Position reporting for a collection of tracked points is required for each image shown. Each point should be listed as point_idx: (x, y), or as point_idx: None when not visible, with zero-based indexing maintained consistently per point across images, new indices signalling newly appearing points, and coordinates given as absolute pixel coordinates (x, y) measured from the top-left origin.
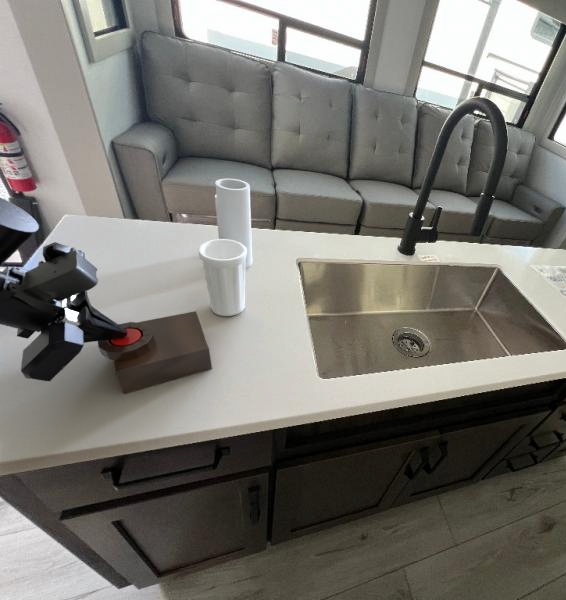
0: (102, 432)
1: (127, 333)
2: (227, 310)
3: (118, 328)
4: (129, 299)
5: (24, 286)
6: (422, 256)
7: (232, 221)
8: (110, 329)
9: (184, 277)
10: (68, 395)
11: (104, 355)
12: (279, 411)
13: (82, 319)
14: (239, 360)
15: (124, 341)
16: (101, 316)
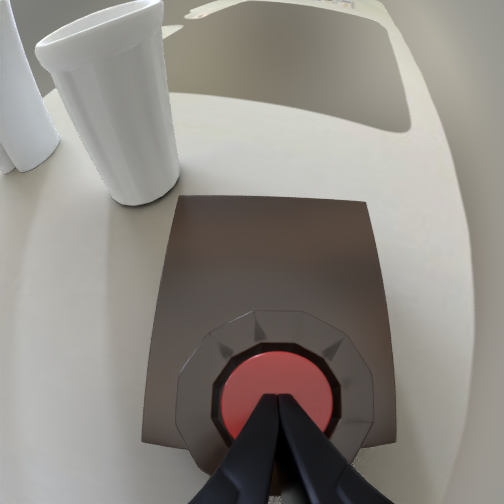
0: (435, 460)
1: (287, 393)
2: (173, 168)
3: (291, 419)
4: (9, 353)
5: None
6: (196, 17)
7: (6, 63)
8: (337, 449)
9: (9, 237)
10: None
11: None
12: (454, 192)
13: None
14: None
15: (310, 411)
16: (247, 490)
